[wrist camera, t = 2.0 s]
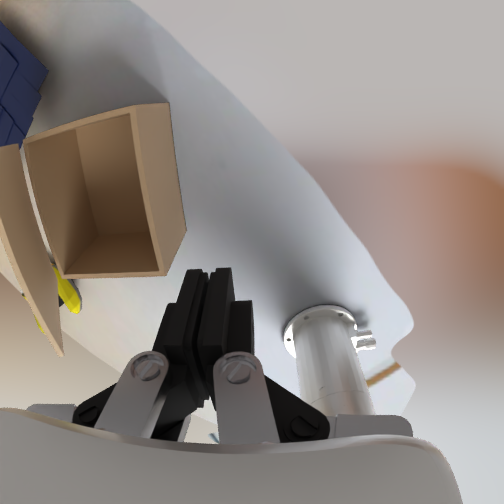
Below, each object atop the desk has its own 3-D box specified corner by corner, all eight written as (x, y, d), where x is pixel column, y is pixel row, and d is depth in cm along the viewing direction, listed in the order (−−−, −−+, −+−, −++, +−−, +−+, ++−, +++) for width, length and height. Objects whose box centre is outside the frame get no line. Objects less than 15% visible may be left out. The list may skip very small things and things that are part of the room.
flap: (-16, 150, 11) (-23, 153, 11) (64, 355, 19) (58, 357, 19) (18, 143, 22) (13, 145, 21) (57, 279, 29) (53, 280, 29)
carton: (169, 102, 31) (135, 104, 21) (186, 230, 39) (166, 275, 29) (74, 125, 31) (22, 139, 22) (98, 237, 40) (61, 278, 30)
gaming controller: (95, 292, 45) (57, 248, 41) (82, 312, 40) (39, 265, 36) (58, 321, 49) (25, 285, 45) (46, 339, 44) (10, 302, 40)
